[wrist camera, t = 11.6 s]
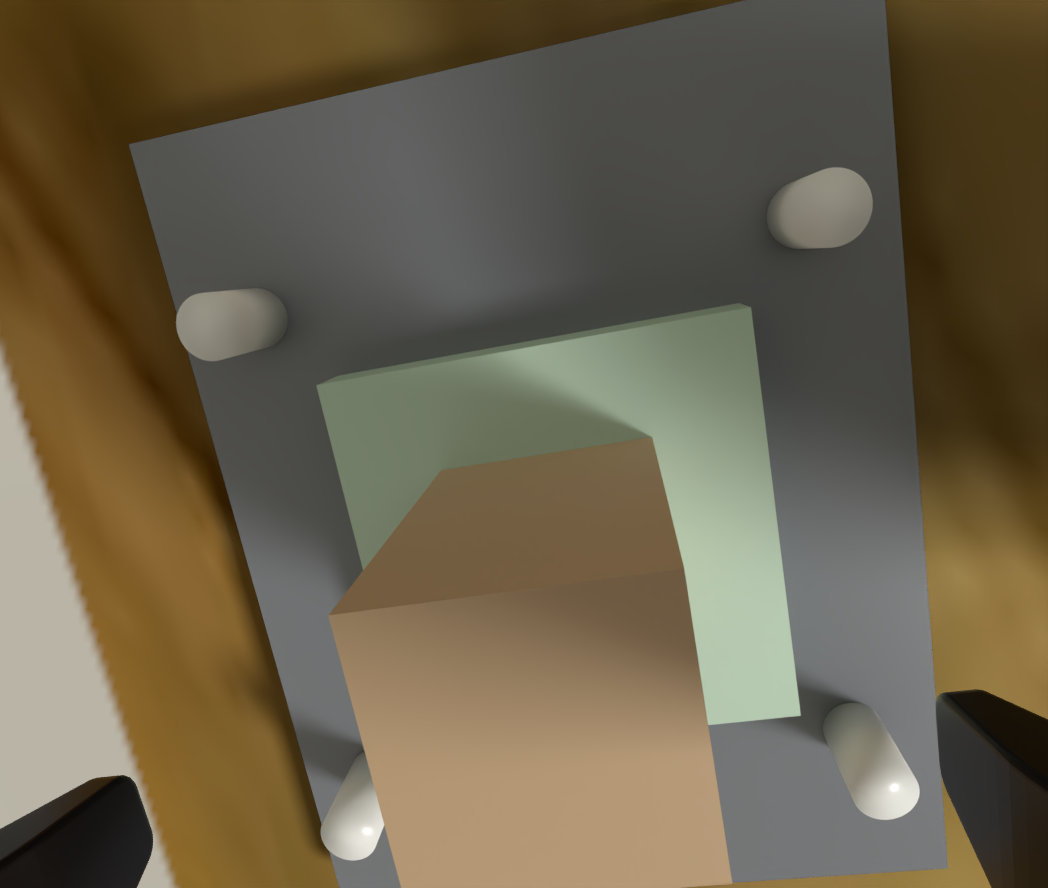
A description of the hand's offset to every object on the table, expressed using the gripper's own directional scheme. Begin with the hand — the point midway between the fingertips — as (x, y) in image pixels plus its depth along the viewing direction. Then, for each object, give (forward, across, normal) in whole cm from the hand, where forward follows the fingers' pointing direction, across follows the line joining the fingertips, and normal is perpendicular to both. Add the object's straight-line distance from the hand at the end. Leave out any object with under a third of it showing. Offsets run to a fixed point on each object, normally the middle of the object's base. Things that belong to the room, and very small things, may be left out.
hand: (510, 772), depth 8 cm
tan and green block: (+8, 0, 0) cm, 8 cm away
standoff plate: (+9, 0, 0) cm, 9 cm away
